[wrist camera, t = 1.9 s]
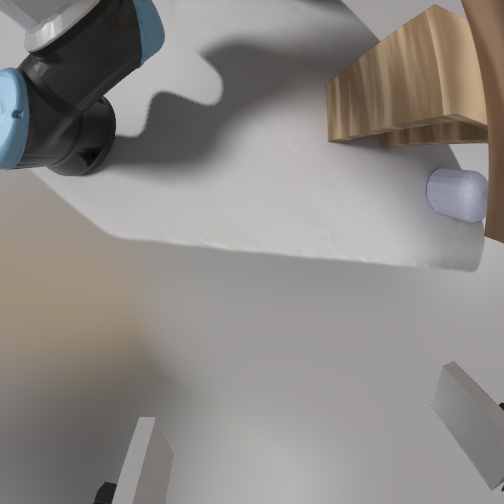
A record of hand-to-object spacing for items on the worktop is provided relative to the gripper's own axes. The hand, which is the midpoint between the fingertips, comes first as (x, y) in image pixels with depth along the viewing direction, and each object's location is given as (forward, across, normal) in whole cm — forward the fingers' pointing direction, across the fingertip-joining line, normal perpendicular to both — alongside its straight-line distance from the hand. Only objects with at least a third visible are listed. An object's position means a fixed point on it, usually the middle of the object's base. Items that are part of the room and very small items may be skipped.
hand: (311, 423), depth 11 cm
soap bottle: (+39, +38, +6) cm, 54 cm away
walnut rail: (+8, +20, +17) cm, 28 cm away
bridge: (+38, +20, +19) cm, 47 cm away
